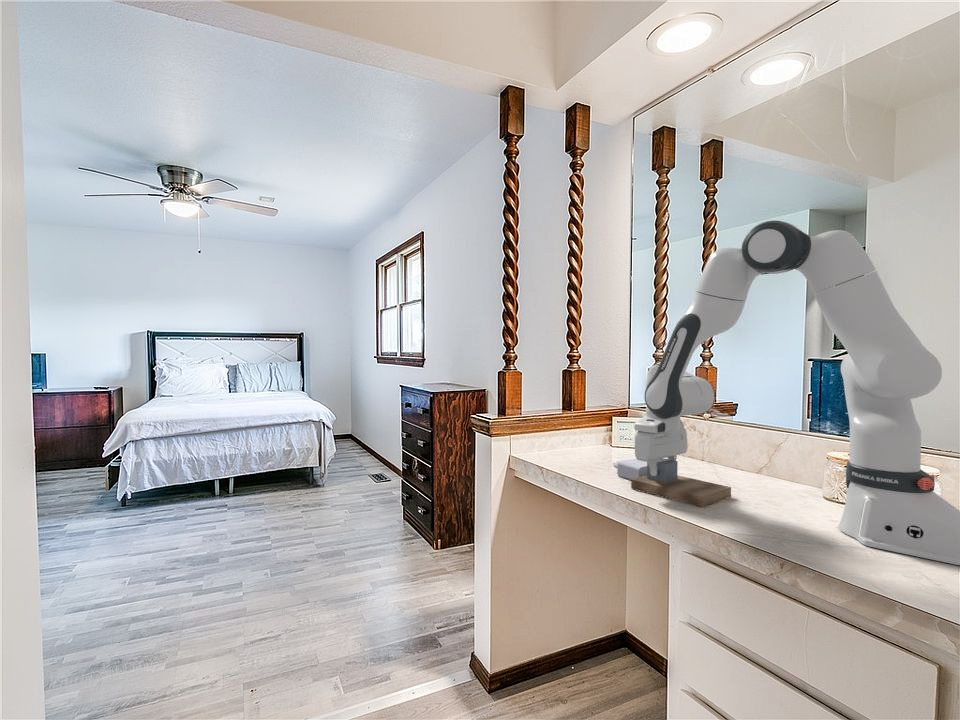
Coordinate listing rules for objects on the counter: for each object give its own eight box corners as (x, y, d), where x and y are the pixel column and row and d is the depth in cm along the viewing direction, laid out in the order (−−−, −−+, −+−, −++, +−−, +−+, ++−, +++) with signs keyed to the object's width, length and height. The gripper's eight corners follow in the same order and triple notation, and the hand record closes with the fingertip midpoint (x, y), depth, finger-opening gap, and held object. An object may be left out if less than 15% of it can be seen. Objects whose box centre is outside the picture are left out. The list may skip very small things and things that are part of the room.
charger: (626, 469, 154) (663, 480, 140) (603, 472, 150) (638, 484, 136) (626, 454, 154) (663, 464, 140) (603, 456, 150) (638, 467, 136)
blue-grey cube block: (647, 478, 132) (647, 459, 132) (658, 475, 135) (658, 456, 135) (665, 483, 127) (666, 463, 127) (677, 479, 131) (677, 460, 131)
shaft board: (730, 496, 124) (731, 473, 124) (703, 507, 115) (703, 483, 115) (660, 480, 140) (660, 459, 139) (631, 488, 131) (631, 466, 131)
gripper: (672, 418, 140) (672, 465, 140) (630, 424, 127) (629, 476, 128) (693, 420, 135) (693, 469, 135) (651, 427, 122) (651, 482, 123)
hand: (662, 473), depth 131 cm, fingers closed on blue-grey cube block, 6 cm apart
